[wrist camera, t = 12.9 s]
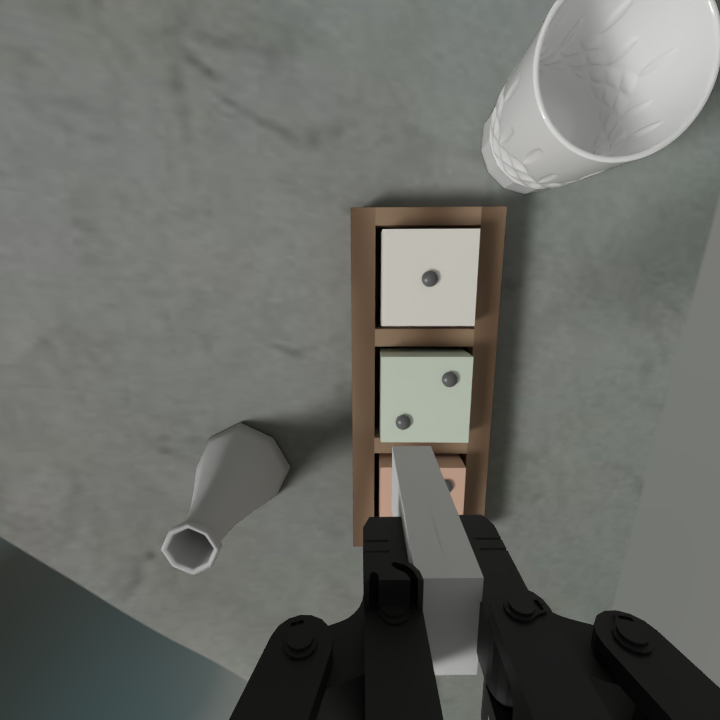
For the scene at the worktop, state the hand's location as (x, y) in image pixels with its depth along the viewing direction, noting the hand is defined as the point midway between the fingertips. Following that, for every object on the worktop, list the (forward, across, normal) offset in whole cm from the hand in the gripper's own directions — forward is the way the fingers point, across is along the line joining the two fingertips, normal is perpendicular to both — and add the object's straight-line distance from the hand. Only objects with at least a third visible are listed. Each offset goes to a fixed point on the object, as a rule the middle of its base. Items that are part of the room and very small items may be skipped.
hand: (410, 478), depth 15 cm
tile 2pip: (+14, +2, -1) cm, 14 cm away
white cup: (+15, +10, +16) cm, 24 cm away
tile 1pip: (+14, +3, +7) cm, 16 cm away
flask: (+16, -12, -8) cm, 21 cm away
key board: (+15, +2, -1) cm, 15 cm away
